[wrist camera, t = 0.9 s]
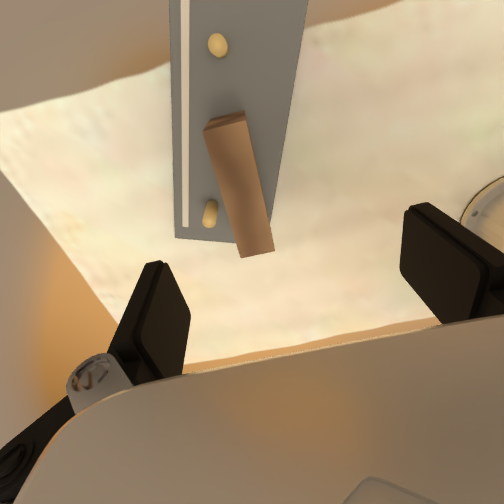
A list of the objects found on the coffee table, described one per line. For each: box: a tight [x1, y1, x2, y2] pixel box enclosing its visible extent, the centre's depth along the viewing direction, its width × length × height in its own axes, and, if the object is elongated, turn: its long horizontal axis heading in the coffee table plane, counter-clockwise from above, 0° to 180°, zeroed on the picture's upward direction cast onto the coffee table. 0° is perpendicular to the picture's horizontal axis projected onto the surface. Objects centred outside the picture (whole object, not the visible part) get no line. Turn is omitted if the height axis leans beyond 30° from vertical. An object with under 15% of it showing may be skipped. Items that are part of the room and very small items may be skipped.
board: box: [169, 0, 308, 243], centre depth 32 cm, size 13×28×6 cm, turn 173°
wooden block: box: [202, 110, 275, 258], centre depth 32 cm, size 4×14×8 cm, turn 13°
